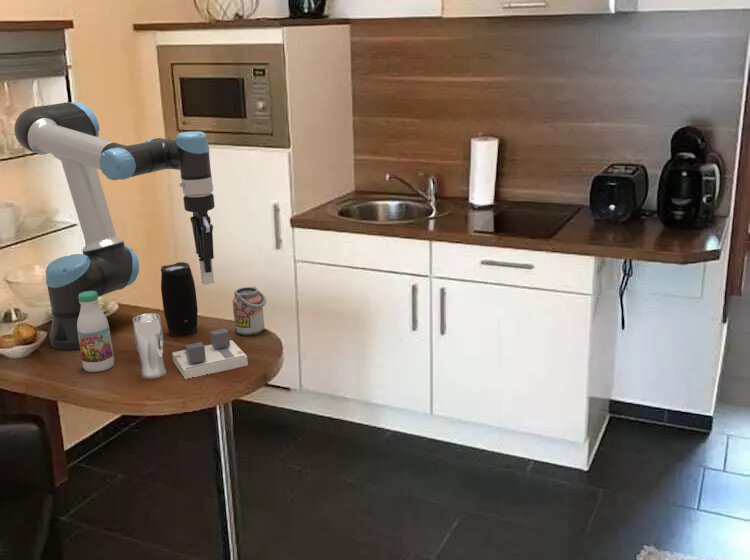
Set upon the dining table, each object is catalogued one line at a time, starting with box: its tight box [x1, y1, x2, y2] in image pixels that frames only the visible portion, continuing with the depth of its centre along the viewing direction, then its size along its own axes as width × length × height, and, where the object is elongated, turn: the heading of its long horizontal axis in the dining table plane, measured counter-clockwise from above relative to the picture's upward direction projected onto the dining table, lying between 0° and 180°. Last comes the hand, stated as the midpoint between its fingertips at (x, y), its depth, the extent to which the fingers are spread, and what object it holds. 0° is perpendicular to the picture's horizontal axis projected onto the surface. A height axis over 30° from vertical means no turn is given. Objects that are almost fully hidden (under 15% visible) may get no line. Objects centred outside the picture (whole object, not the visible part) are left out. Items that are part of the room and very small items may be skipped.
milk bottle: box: [77, 291, 115, 373], centre depth 211 cm, size 8×8×20 cm
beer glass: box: [132, 312, 167, 380], centre depth 206 cm, size 7×7×15 cm
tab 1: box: [184, 341, 206, 364], centre depth 207 cm, size 3×4×4 cm
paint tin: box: [232, 285, 267, 336], centre depth 232 cm, size 9×8×12 cm
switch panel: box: [171, 339, 249, 380], centre depth 212 cm, size 13×16×3 cm
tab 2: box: [209, 328, 230, 349], centre depth 215 cm, size 3×4×4 cm
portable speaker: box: [160, 261, 198, 338], centre depth 232 cm, size 9×9×20 cm
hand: (208, 282), depth 217 cm, fingers closed
